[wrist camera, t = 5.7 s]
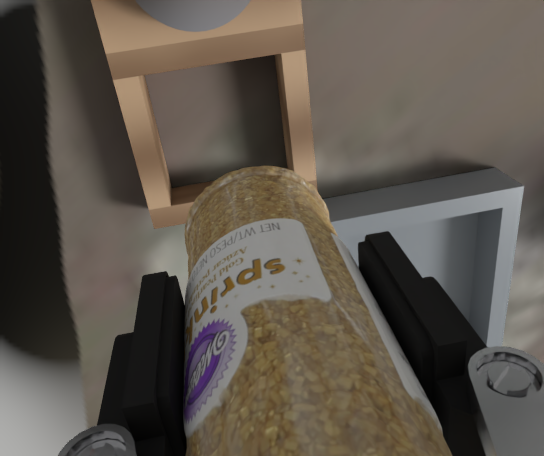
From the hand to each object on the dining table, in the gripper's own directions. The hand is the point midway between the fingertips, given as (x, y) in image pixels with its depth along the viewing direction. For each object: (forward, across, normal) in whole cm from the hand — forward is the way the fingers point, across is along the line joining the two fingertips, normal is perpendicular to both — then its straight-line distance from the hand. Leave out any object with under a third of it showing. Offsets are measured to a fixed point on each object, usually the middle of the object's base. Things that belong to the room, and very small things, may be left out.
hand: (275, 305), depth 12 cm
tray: (+18, -10, +14) cm, 25 cm away
